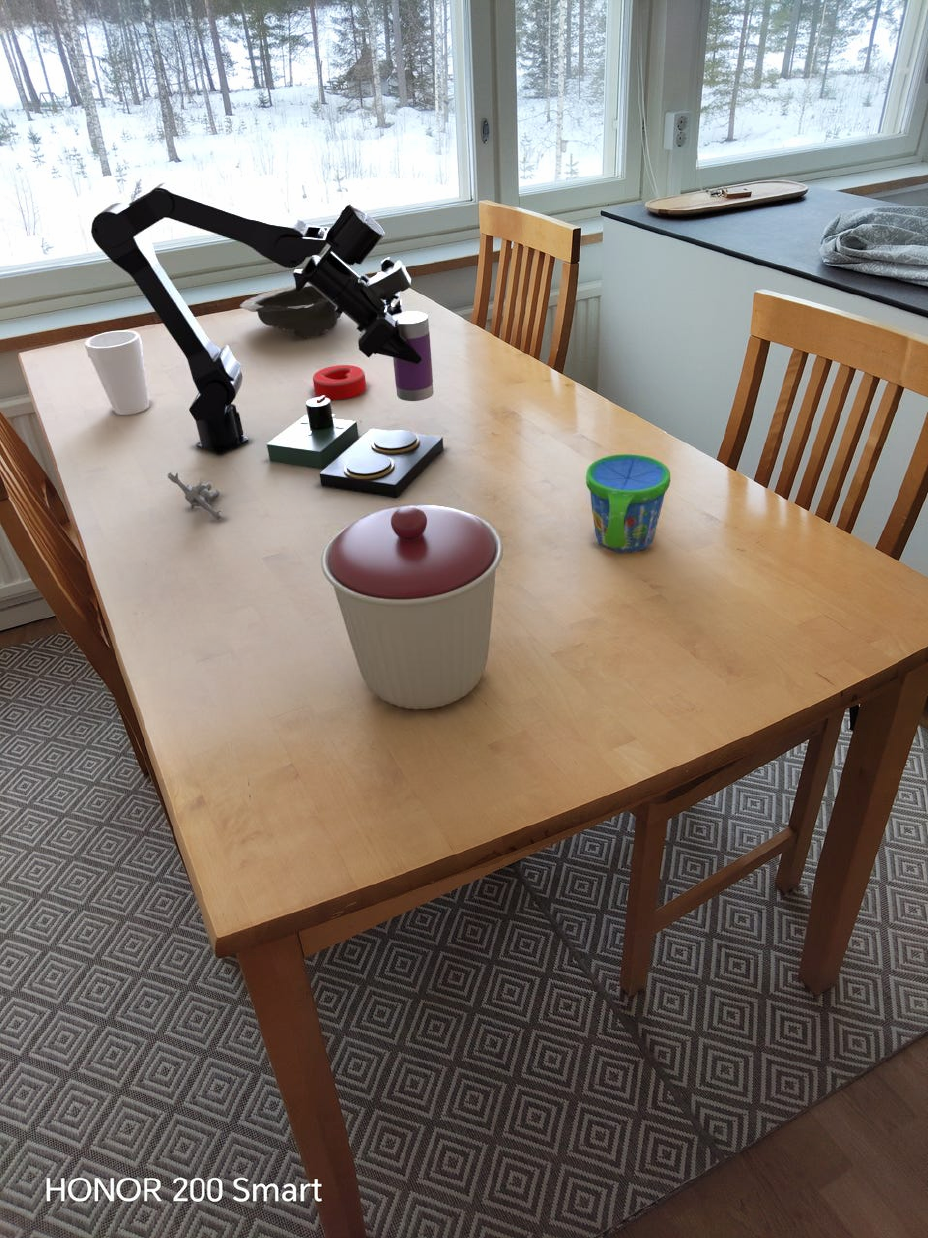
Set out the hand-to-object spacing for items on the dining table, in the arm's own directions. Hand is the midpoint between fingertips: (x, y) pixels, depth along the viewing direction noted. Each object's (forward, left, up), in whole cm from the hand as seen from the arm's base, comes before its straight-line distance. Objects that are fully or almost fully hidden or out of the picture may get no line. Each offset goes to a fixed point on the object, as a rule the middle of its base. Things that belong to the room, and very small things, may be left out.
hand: (420, 354), depth 145 cm
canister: (-49, -42, -14) cm, 66 cm away
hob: (-14, -3, -13) cm, 19 cm away
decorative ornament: (+6, +27, -14) cm, 30 cm away
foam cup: (-21, +55, -14) cm, 60 cm away
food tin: (-1, +1, -7) cm, 7 cm away
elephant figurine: (-39, +11, -14) cm, 43 cm away
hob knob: (-12, +12, -10) cm, 20 cm away
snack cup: (-12, -45, -14) cm, 49 cm away
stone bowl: (+28, +62, -14) cm, 69 cm away
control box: (-15, +12, -13) cm, 23 cm away
